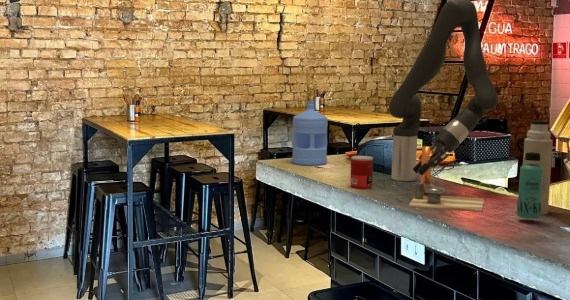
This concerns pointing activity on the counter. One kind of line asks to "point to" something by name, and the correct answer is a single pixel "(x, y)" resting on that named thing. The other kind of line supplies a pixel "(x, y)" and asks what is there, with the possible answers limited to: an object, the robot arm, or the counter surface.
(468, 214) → the counter surface
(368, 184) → the canned food
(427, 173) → the lever
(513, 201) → the counter surface
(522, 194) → the beverage bottle
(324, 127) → the water jug
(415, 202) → the hub board
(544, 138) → the thermos bottle
